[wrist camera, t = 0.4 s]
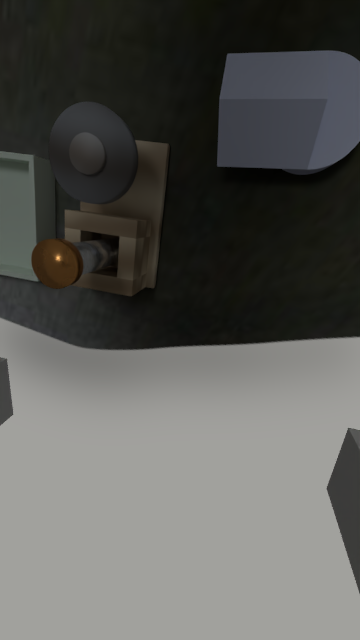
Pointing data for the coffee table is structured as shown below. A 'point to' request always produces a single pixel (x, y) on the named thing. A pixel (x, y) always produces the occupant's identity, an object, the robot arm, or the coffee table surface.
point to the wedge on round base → (288, 110)
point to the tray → (24, 211)
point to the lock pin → (71, 259)
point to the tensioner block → (111, 192)
